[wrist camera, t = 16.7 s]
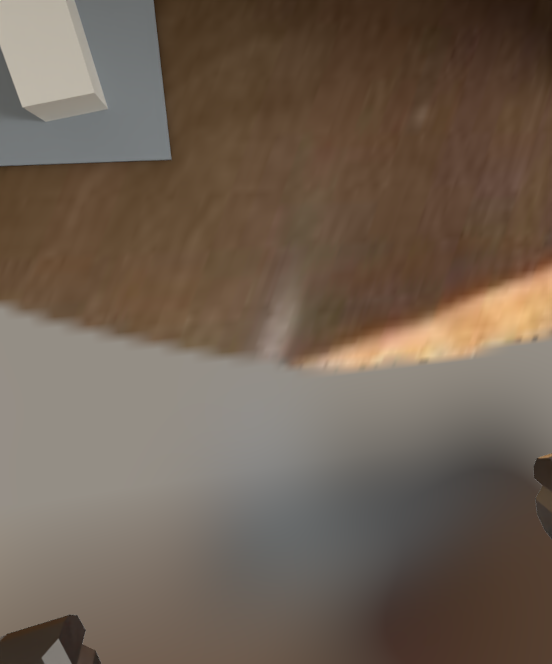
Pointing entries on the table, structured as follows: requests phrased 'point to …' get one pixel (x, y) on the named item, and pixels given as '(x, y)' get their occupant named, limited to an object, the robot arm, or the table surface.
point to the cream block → (49, 58)
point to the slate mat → (119, 92)
